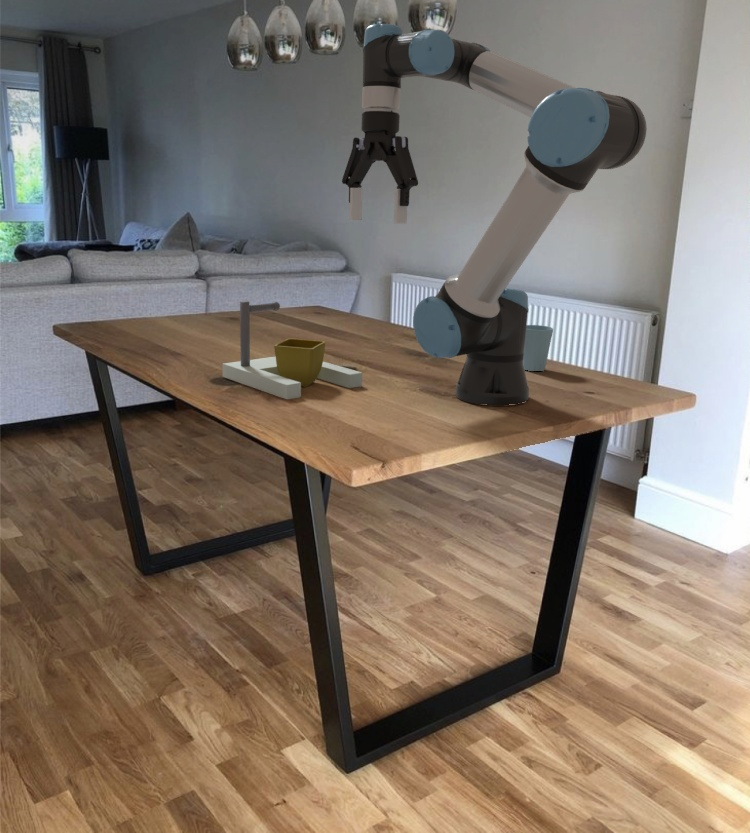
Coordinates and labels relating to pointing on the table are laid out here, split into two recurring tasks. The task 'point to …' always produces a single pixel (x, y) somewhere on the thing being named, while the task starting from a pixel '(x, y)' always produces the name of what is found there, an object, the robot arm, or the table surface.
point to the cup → (536, 347)
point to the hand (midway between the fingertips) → (377, 221)
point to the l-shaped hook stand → (265, 369)
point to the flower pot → (300, 359)
